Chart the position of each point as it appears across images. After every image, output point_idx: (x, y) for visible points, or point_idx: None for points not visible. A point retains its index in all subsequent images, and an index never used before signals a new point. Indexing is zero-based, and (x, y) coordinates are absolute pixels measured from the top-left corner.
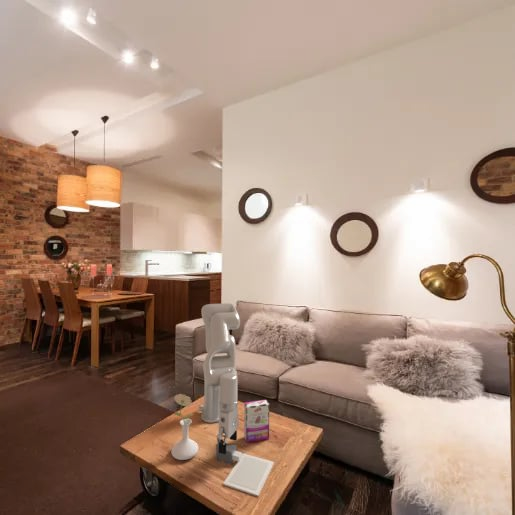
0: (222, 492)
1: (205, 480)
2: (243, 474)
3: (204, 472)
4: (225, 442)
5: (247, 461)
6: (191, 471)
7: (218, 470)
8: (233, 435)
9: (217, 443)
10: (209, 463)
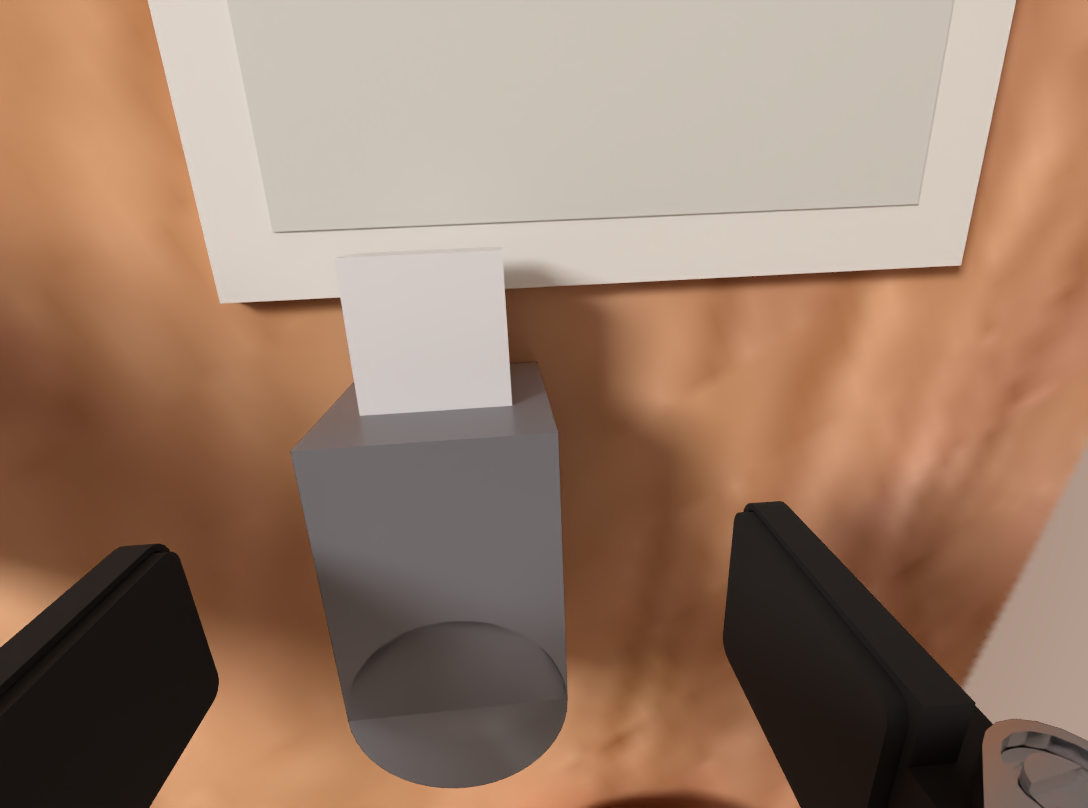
0: (1065, 202)
1: (912, 504)
2: (713, 25)
3: None
4: (1001, 783)
5: (374, 111)
6: None
7: (713, 460)
8: (107, 710)
9: (447, 783)
10: (640, 617)
